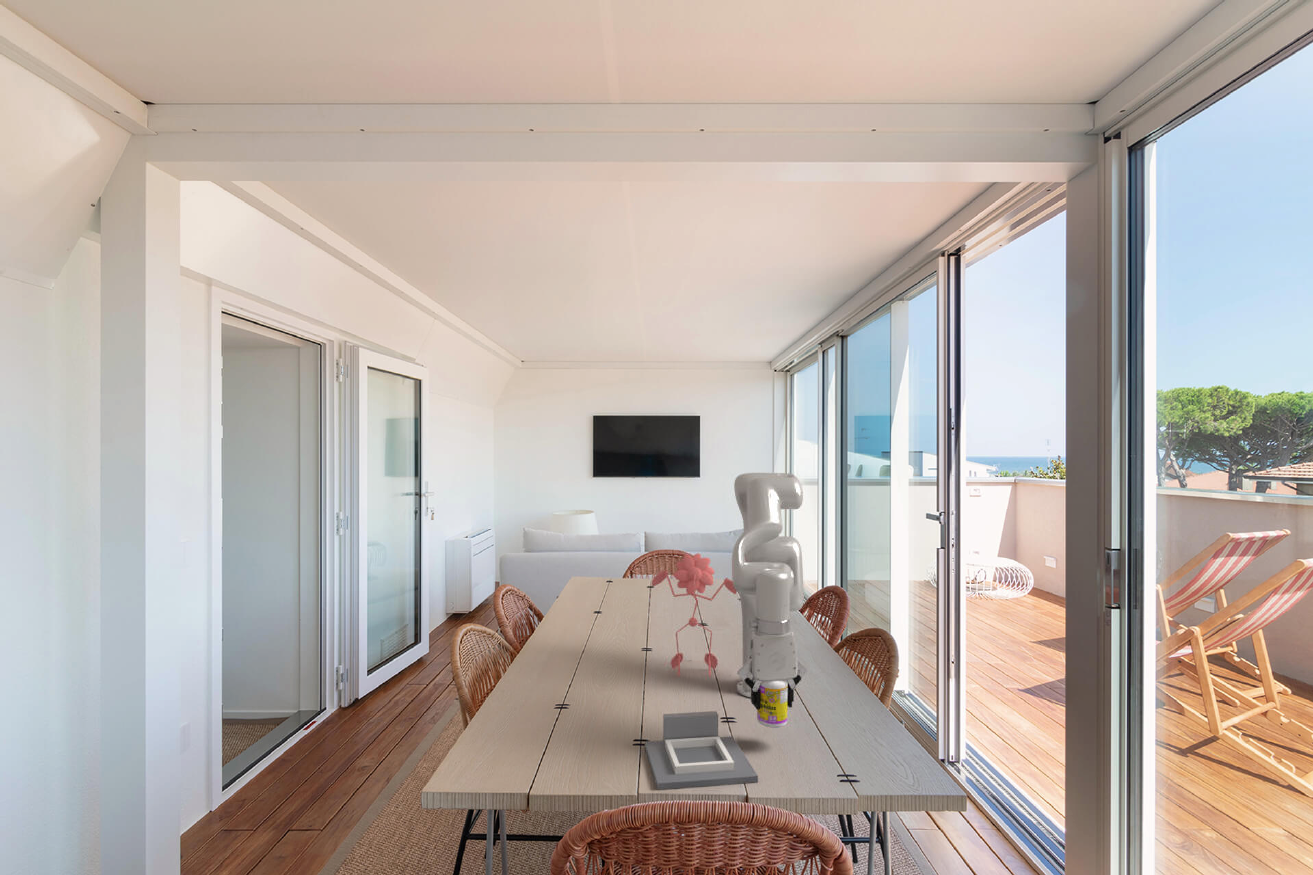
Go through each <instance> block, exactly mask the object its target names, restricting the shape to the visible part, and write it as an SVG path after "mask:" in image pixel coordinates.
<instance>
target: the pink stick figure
mask: <svg viewBox="0 0 1313 875" xmlns="http://www.w3.org/2000/svg"><path fill="white" fill-rule="evenodd" d="M710 563H711V559H710V558H709V557H702V556H701V554H700V553H695V554H694V555H692V556H691V555H690V554H689V553H684V554H683V557H682V561H680V560H679V561H677V562H676V569H677V570H676V571H674V572H673V574H672V576H673V577H674V578H675V579H676V580H677V581H678V582H677V588H679V589H686V590H685V591H686V593H680V594H675V592H674V591H675V590H674V589H673V586H672V583H671V580H670V577H669V574H668V570H667V569H665V570H663V571H660V572H658V573H657V574H656V575H655V576H654V577H653V579H652V581H651V586H652V587H655V586H658V585H659V584H661V583H662V582H664V581H665V580H666V578H667V581H668V585H669V588H670V590H671V593H672V596H673V597H675V598H676V597H684V596H691V597H693V598H694V600H695V604H694V610H693V614H692V617H690V618H689V620H688V623H687V624H685V625H684V626H682V627H681V628H680V629H678V630H677V631H676V632H675V638H676V639H675V640H676V650H677V653H676V654H675V655H674V656H673V657H672V658H671V660H670V662H671V663H670V666H671V668H672V670H674V669H676V668H677V676H679V677H680V676H681V663H682V662H683V661H684V654H683V653H682V652H679V650H680V649H679V641H678V633H679V632H681V631H682V630H684V628H686V627H687V626H688V625H689V626H690V627H693V628H694V627H697V625H699V627H701V628H703V629H705V630H706V631H708V632H709V633H710V637H709V651H708V653H705V654H704V658H703V659H704V660H703V661H704V662H703V663H705V664H706V665H707V666H708V677H711V675H712V673H711V672H712V670H711V668H712V669H713V670H715V669H716V668H717V666H718V658H717V656H715V655H714V653H712V652H711V651H712V650H711V649H712V639H713V638H712V637H713V636H712V635H713V632H712V631H711V630H710V629H709V628H707V627H705V626H704V625H702V624H700V623H699V622H698V619H697V618H696V617H695V613H696V610H697V608H698V607H697V606H698V603H699V602H698V601H699V599H698V598H701V599H705V600H708V601H711V602H712V600H714V599H715V597H716V596H717V594H718V593H719V591H721V589H722V588H723V587H725V588H726V589H727V591H730V593H733V594H734V595H736V594H737V593H738V592H737V591H736V590H735V588H734V585H733V580H732V579H729V578H728V577H725V579H724V580H723V583H721V585H720V586H719V587H718V589H717V590H716V591H715V593H714V594H713V595H712V596H711V598H710V597H706V596H703V595H700V594H704V593H705V591H706V586H713V585H714V579H713V577H712V575H714V574H715V569H713V567H711V566H709V565H710ZM696 591H697V593H699V594H697V593H695V592H696ZM697 597H698V598H697ZM667 663H668V662H666V663H663V664H662V666H663V665H668V664H667Z"/></svg>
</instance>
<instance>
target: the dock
mask: <svg viewBox="0 0 1313 875" xmlns="http://www.w3.org/2000/svg"><path fill="white" fill-rule="evenodd" d="M662 716H663V717H662V720H663V721H662V724H663V725H662V740H655V741H645V742H644V749H645V753H646V755H647V759H648V763H649V766H650V769H651V773H652V775H653V779H654V783H655V785H656V786H655V787H656V789H657V791H660V790H661V791H662V790H673V789H674V790H675V789H676V790H677V789H685V788H686V789H687V788H700V787H713V786H724V784H725V786H726V784H728V785H737V784H736V783H741V784H751V783H750V782H754V783H759V775H758V773H757V772H756V770H755V769H754V768H753V766H752V765H751V762H750V761H749V759H748V758H747V756H746V754H745V753H744V752H743V750H742V749H741V747H740V745H739V744H738V743H737V741H736V739H735V737H734V736H733V735H732V736H730V735H729V736H721V737H720V736H719V714H718V712H717V711H716V710H715V711H713V710H712V711H711V710H710V711H695V712H678V713H663V715H662ZM746 782H747V783H746Z"/></svg>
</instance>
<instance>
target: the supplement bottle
mask: <svg viewBox="0 0 1313 875" xmlns="http://www.w3.org/2000/svg"><path fill="white" fill-rule="evenodd" d="M759 691H760V709H759V710H757V709H756V710H757V711H756V719H757V722H758V723H759V724H760V725H761V726H764V727H766V728H771V729H778V728H782V727H784V726H786V724H787V723H788V706H787V704H788V703H787V700H788V681H787V680H771V681H762V682H761V684H760V686H759Z"/></svg>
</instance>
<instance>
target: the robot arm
mask: <svg viewBox="0 0 1313 875" xmlns="http://www.w3.org/2000/svg"><path fill="white" fill-rule="evenodd" d="M733 483H734V484H733V485H734V488H733V489H734V495H735V496H734V497H735V501H736V504H737V506H738V509H739V512H740V514H741V517H742V523H743V524H742V525H743V532H742V533H741V535H739V537H738V538H737V540H736V542H735V544H734V546H733V548H732V554H731V569H732V570H731V571H732V572H731V574H732V575H731V576H732V579H731V580H732V582H733V585H734V588H735V590H736V591H737V592H736V593H739V600H740V606H741V617H742V666H741V667H740V668H739V669H738V670H737V675H738V676H739V677H740V679H742V680H741V681H739V682H738V683H737V684H736V691H737V693H738V694H740V695H741V696H745V697H747V698H750V702H751V704H752V705H753V706H754V708H755V709H756V710H759V709H760V691H759V686H760V684H761V682H762V681H771V680H787V681H788V700H787V703H788V704H787V708H789V709H790V708H793V702H794V701H795V700H794V698H795V696H794V694H795V692H794V691H795V689H796V688H797V685H798V684H799V683H800V682H801V681H802V678H804V676H805V675H806V674H807V672H808V669H807V668H806V667H805V666H804V665H803V664H801V663H800V661H799V660H798V655H797V654H798V653H797V646H796V640H795V639H796V638H795V634H794V632H793V631H792V630H790V629H791V628H790V627H791V626H790V624H791V622H790V621H791V620H790V616H791V613H790V612H797V611H799V610H801V609H802V607H803V606H804V601H805V591H804V590H805V589H804V588H805V587H804V572H803V570H804V568H803V552H802V547H801V543H800V542H799V541H798V539H797V538H796V537H793V536H782V535H781V534H782V532H783V519H782V518H783V517H782V510H798V509H800V508H801V507H802V504H803V501H804V491H803V485H802V483H801V481H800V480H799V478H798V477H797V476H796V475H795V474H794V473H789V472H788V473H787V472H748V473H747V472H746V473H741V474H739V475H738V476H736V478H735V479H734V482H733Z"/></svg>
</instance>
